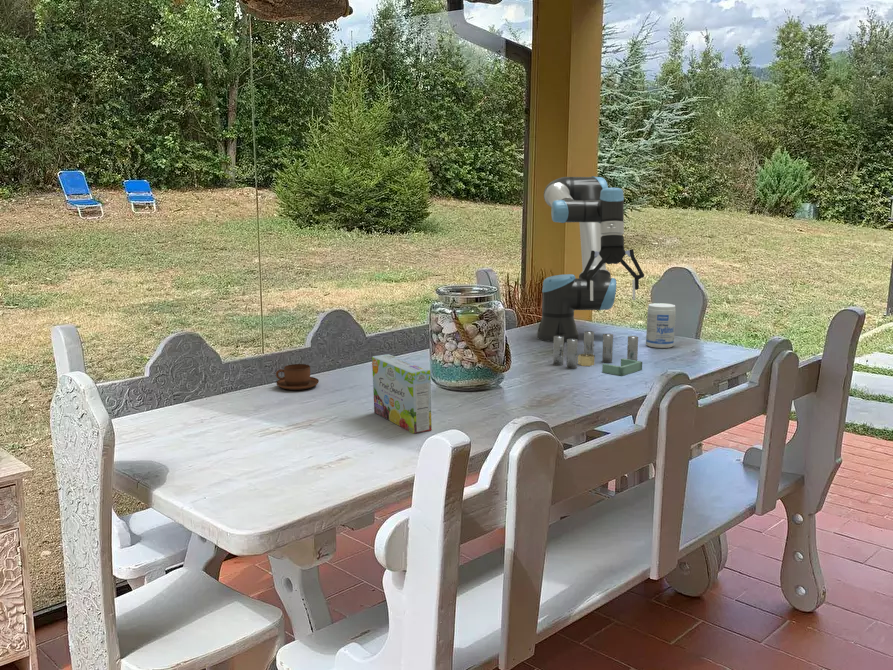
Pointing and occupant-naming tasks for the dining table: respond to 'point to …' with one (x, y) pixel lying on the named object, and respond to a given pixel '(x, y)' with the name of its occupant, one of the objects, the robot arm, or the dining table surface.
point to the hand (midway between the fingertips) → (612, 300)
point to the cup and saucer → (296, 377)
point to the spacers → (590, 349)
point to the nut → (586, 359)
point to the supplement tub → (660, 325)
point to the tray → (623, 367)
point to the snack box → (402, 393)
